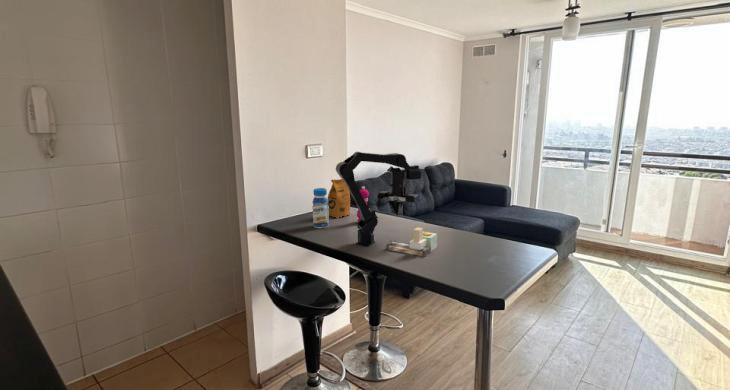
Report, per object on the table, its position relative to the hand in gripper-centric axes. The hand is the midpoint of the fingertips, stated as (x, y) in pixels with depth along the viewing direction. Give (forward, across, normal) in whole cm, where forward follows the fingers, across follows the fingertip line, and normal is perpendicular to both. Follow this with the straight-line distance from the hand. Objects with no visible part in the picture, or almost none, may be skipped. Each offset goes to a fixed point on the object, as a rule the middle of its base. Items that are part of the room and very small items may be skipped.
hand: (397, 214), depth 178 cm
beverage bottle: (+12, +45, 0) cm, 47 cm away
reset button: (+11, -16, +4) cm, 20 cm away
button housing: (+12, -16, +4) cm, 20 cm away
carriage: (+9, -15, +11) cm, 21 cm away
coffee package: (+12, +50, -23) cm, 56 cm away
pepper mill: (+12, +30, -18) cm, 37 cm away
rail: (+12, -11, +11) cm, 20 cm away
